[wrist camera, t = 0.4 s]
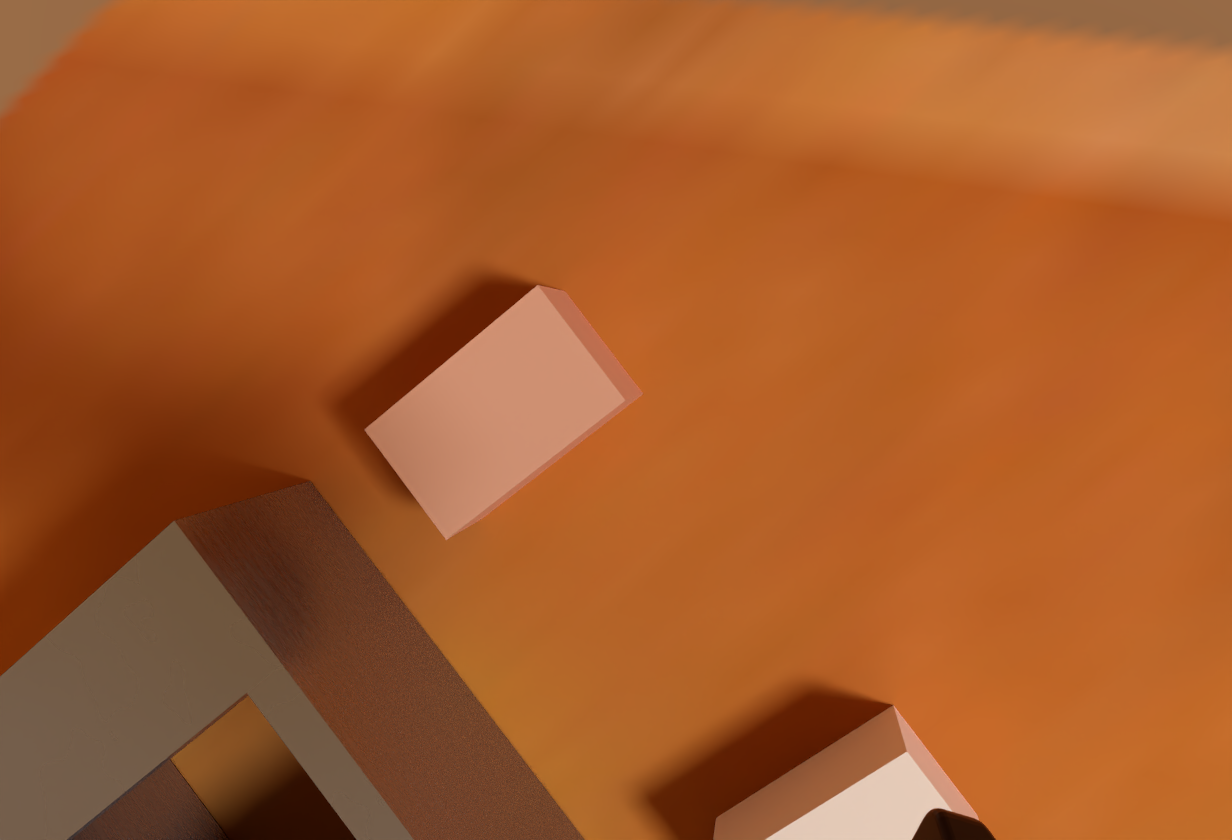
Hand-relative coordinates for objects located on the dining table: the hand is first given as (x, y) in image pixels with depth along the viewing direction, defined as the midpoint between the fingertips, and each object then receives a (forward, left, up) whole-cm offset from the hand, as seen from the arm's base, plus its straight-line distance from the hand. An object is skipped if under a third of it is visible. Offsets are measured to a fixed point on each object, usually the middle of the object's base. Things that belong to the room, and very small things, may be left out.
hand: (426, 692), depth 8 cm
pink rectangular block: (+3, +1, -13) cm, 13 cm away
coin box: (-1, +11, -13) cm, 17 cm away
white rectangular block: (-9, +1, -13) cm, 16 cm away
